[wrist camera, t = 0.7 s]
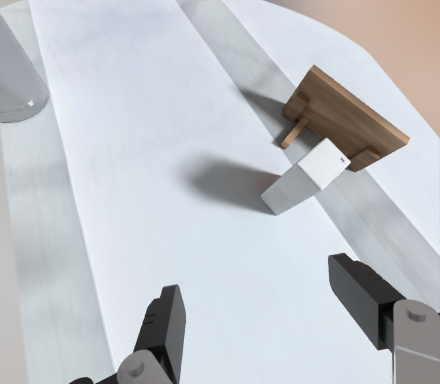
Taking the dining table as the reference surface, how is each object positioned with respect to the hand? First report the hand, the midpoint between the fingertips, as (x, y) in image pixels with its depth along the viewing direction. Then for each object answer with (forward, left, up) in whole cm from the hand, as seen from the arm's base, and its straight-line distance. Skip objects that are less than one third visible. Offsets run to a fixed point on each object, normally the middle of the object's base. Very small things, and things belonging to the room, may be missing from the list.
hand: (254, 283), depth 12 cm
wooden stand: (-6, +29, -20) cm, 36 cm away
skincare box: (-3, +17, -21) cm, 27 cm away
